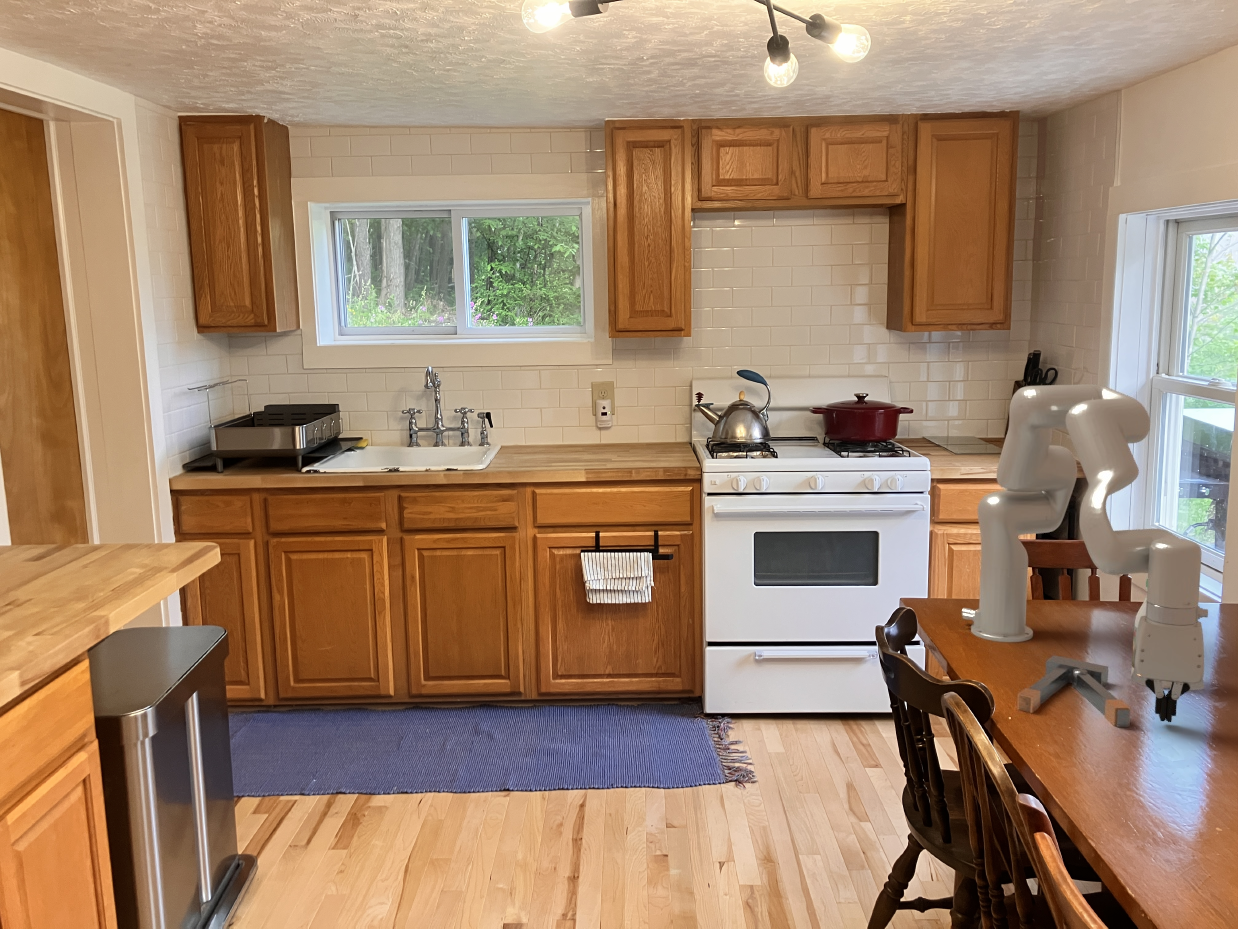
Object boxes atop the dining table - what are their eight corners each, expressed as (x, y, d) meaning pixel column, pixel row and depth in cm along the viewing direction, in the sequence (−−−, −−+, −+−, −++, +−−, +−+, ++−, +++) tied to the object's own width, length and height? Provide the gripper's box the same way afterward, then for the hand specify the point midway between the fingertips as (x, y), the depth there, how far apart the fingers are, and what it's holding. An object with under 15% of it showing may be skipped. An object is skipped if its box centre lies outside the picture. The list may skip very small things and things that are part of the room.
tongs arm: (1069, 685, 188) (1070, 668, 187) (1083, 684, 188) (1084, 668, 187) (1115, 727, 169) (1116, 709, 168) (1130, 727, 169) (1132, 709, 168)
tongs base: (1006, 708, 179) (1006, 689, 178) (1052, 672, 195) (1053, 655, 195) (1064, 722, 172) (1065, 703, 171) (1107, 684, 189) (1108, 666, 188)
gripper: (1219, 611, 167) (1212, 716, 169) (1119, 603, 172) (1114, 705, 175) (1227, 624, 160) (1219, 733, 162) (1122, 615, 165) (1117, 721, 168)
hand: (1165, 718), depth 169 cm, fingers closed
